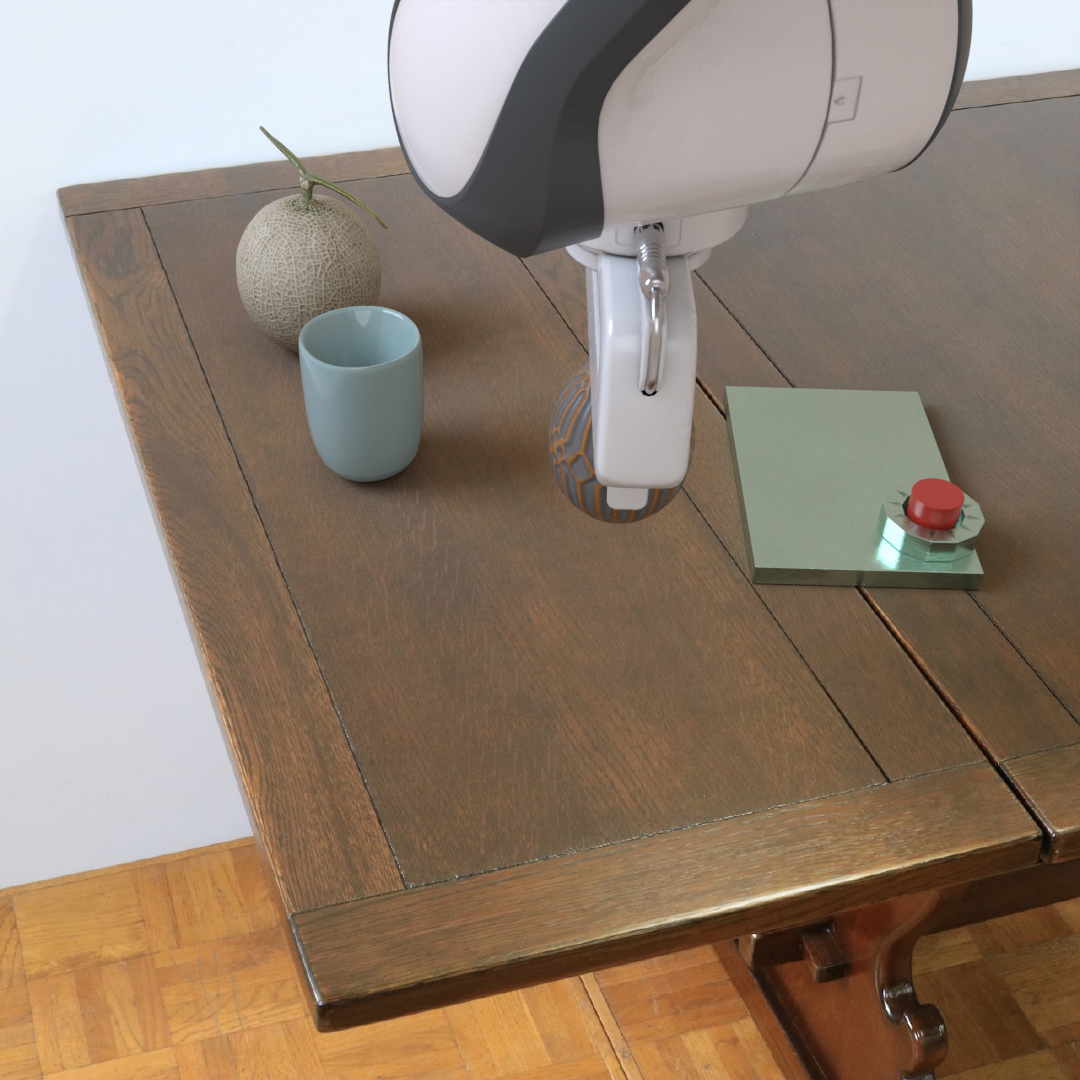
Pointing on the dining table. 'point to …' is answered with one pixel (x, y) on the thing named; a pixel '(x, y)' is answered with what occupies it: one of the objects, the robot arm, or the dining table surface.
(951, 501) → the button
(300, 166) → the fruit
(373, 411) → the cup
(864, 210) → the dining table surface
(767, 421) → the green metallic slab
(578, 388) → the vase
